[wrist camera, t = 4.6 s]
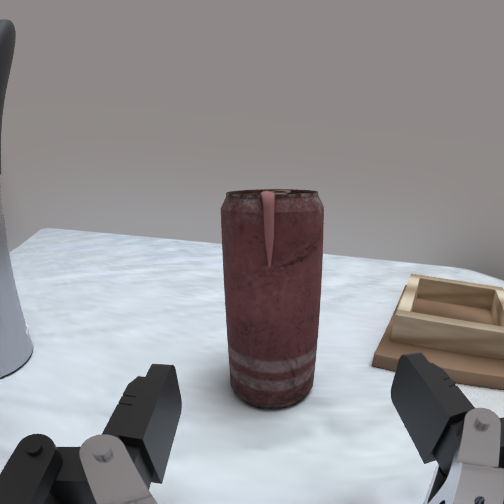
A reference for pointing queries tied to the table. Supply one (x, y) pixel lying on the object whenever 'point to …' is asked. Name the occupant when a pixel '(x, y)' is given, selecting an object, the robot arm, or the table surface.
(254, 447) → the table surface
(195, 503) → the table surface
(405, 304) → the tray
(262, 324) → the can
